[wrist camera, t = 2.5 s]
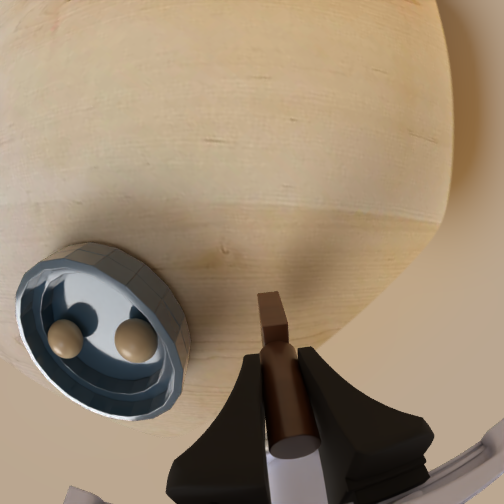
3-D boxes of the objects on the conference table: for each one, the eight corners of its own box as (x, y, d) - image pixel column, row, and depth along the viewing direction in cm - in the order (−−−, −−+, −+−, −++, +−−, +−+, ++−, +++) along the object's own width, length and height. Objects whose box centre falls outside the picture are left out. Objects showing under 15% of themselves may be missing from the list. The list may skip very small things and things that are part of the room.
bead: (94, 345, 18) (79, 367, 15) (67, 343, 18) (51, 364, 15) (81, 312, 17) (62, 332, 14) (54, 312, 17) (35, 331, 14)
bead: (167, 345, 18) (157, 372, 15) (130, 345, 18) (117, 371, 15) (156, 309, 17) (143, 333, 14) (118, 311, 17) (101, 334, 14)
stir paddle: (286, 341, 16) (317, 464, 8) (257, 344, 16) (271, 471, 8) (283, 290, 15) (326, 414, 7) (251, 293, 15) (265, 424, 7)
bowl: (207, 387, 20) (203, 424, 16) (78, 381, 20) (61, 408, 16) (170, 228, 16) (150, 246, 12) (25, 251, 16) (-6, 268, 12)
